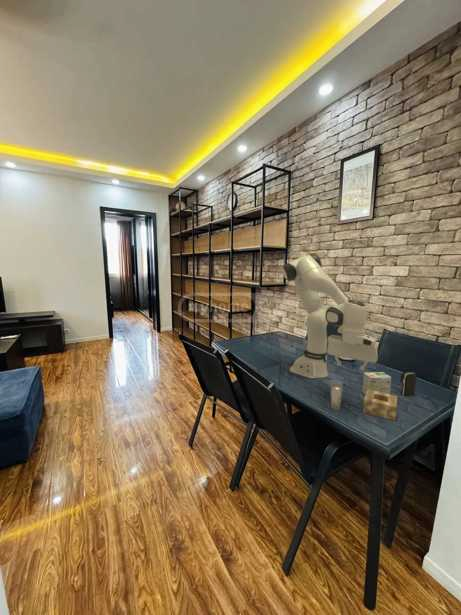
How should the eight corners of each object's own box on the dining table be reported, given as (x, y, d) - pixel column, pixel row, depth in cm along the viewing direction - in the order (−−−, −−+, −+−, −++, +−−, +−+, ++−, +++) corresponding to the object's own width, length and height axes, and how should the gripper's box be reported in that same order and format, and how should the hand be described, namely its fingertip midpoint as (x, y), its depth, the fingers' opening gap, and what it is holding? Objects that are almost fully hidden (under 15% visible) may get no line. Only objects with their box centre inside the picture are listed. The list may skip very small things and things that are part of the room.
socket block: (363, 412, 114) (364, 399, 113) (366, 400, 124) (367, 389, 123) (395, 420, 107) (396, 407, 106) (395, 408, 117) (397, 396, 116)
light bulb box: (381, 391, 134) (383, 371, 132) (390, 397, 127) (392, 377, 125) (361, 391, 133) (363, 371, 132) (369, 397, 127) (370, 377, 125)
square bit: (330, 399, 125) (331, 383, 124) (330, 394, 130) (331, 379, 129) (341, 400, 124) (342, 385, 122) (340, 396, 128) (341, 381, 127)
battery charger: (408, 391, 134) (410, 370, 132) (415, 394, 130) (417, 373, 129) (397, 392, 132) (399, 371, 130) (404, 396, 128) (406, 374, 127)
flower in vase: (351, 356, 188) (354, 323, 185) (357, 362, 177) (360, 326, 173) (333, 355, 189) (335, 322, 186) (338, 361, 178) (340, 326, 175)
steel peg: (329, 408, 117) (331, 387, 115) (331, 404, 120) (333, 384, 119) (339, 410, 115) (340, 389, 113) (341, 406, 118) (342, 386, 116)
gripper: (326, 335, 115) (324, 364, 117) (378, 342, 104) (375, 375, 106) (329, 332, 120) (327, 360, 122) (379, 339, 110) (376, 370, 112)
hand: (350, 367), depth 114 cm, fingers open, 8 cm apart
